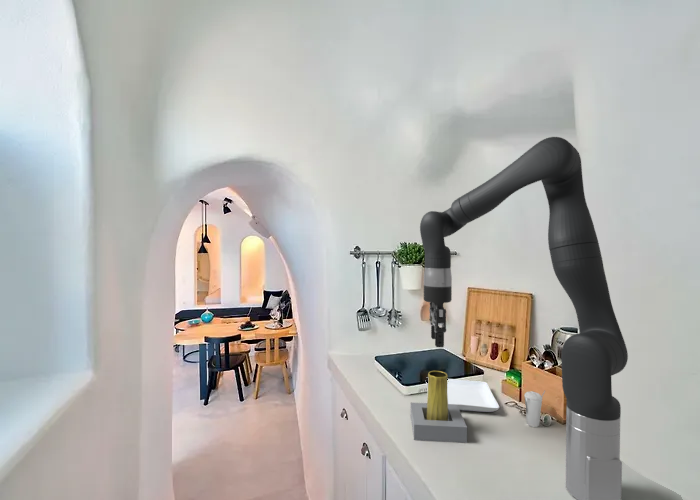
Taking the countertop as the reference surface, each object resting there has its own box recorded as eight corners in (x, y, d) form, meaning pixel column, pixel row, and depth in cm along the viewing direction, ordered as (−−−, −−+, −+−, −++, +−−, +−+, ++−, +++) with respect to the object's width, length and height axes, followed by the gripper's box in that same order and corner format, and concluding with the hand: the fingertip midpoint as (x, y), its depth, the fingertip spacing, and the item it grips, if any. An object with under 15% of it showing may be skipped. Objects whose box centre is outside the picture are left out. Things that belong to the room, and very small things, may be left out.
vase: (432, 431, 98) (433, 378, 98) (422, 421, 104) (422, 371, 104) (452, 428, 100) (453, 376, 100) (441, 418, 106) (442, 369, 105)
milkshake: (547, 429, 102) (547, 393, 101) (526, 427, 103) (526, 392, 103) (542, 421, 106) (542, 387, 106) (522, 419, 107) (522, 385, 107)
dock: (466, 442, 95) (467, 427, 95) (414, 439, 96) (414, 424, 96) (456, 418, 108) (457, 404, 108) (410, 415, 109) (410, 402, 109)
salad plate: (500, 418, 109) (500, 406, 109) (427, 412, 112) (427, 401, 112) (486, 390, 130) (486, 380, 130) (425, 386, 133) (425, 377, 133)
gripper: (456, 287, 94) (455, 350, 94) (447, 281, 108) (446, 336, 108) (426, 286, 95) (426, 349, 95) (421, 281, 109) (421, 336, 109)
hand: (437, 342), depth 102 cm, fingers open, 8 cm apart
